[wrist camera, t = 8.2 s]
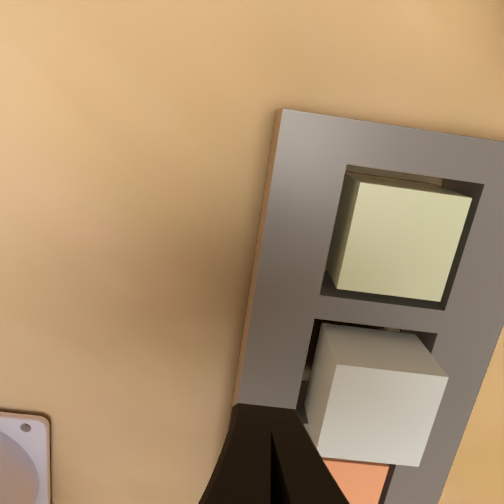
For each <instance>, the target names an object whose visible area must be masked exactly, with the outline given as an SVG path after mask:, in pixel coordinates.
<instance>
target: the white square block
mask: <svg viewBox="0 0 504 504" xmlns="http://www.w3.org/2000/svg"><path fill="white" fill-rule="evenodd" d="M448 378H449V377H448V376H447V374H446V373H445V372H444V370H443V369H442V368H441V366H440V365H439V364H438V363H437V361H436V360H435V359H434V357H433V356H432V355H431V354H430V352H429V351H428V350H427V348H426V347H425V346H424V345H423V343H422V342H421V341H420V339H419V338H418V337H417V335H416V334H410V333H402V332H393V331H385V330H377V329H368V328H360V327H352V326H344V325H335V324H327V323H321V328H320V332H319V337H318V342H317V346H316V351H315V356H314V360H313V365H312V370H311V374H310V379H309V384H308V388H307V393H306V397H305V402H304V405H305V410H306V414H307V419H308V424H309V429H310V434H311V439H312V441H313V443H314V445H315V447H316V448H317V450H318V452H319V454H320V456H321V457H327V458H337V459H347V460H356V461H366V462H376V463H386V464H396V465H406V466H415V467H419V464H420V461H421V458H422V455H423V452H424V450H425V447H426V444H427V441H428V438H429V435H430V432H431V429H432V426H433V423H434V420H435V417H436V414H437V411H438V408H439V405H440V402H441V399H442V396H443V393H444V390H445V387H446V384H447V381H448Z"/></svg>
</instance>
